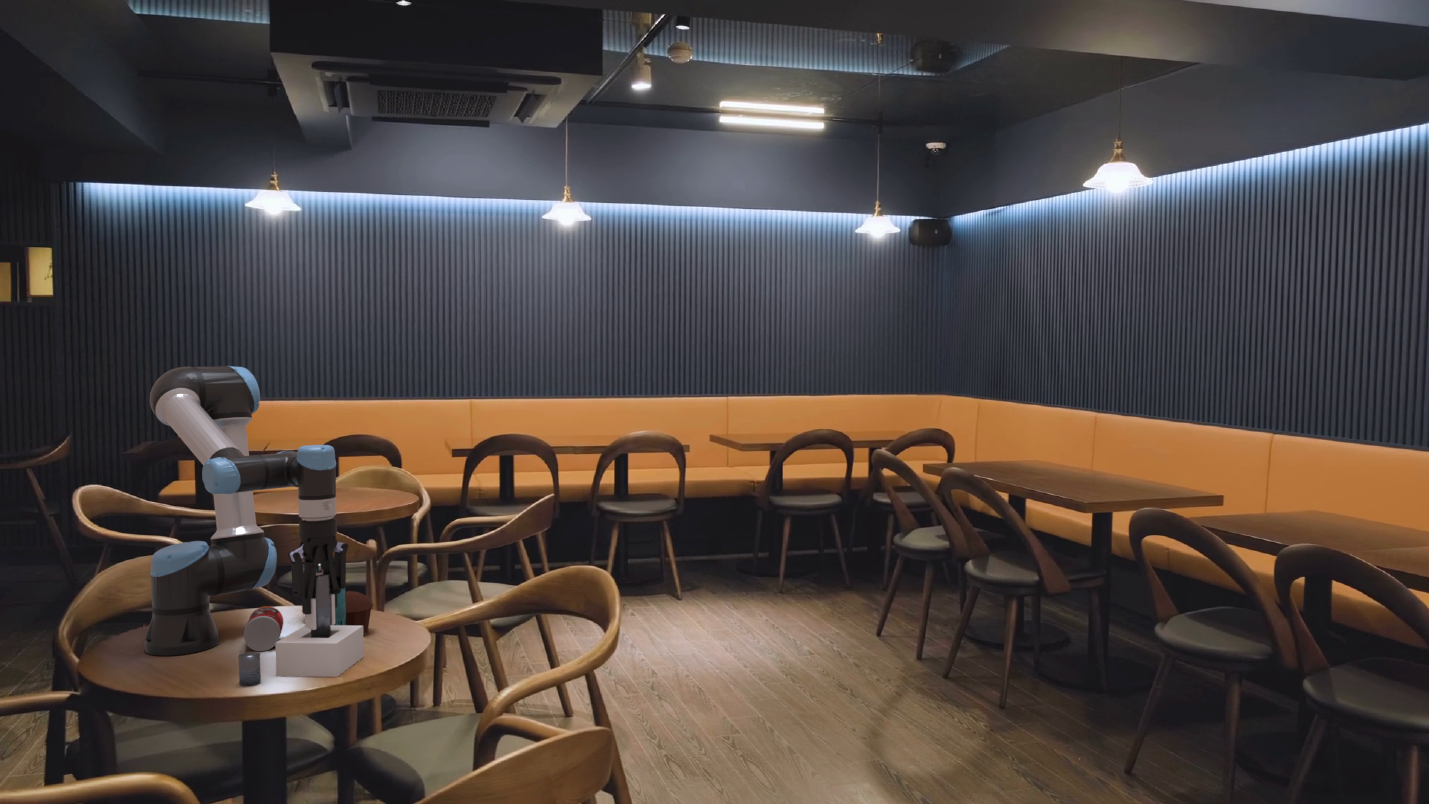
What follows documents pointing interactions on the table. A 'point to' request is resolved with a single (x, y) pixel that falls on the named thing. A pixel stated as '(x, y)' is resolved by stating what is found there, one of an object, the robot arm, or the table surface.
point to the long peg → (322, 606)
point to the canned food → (263, 628)
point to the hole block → (319, 652)
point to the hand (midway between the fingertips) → (320, 625)
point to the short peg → (249, 669)
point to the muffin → (358, 609)
